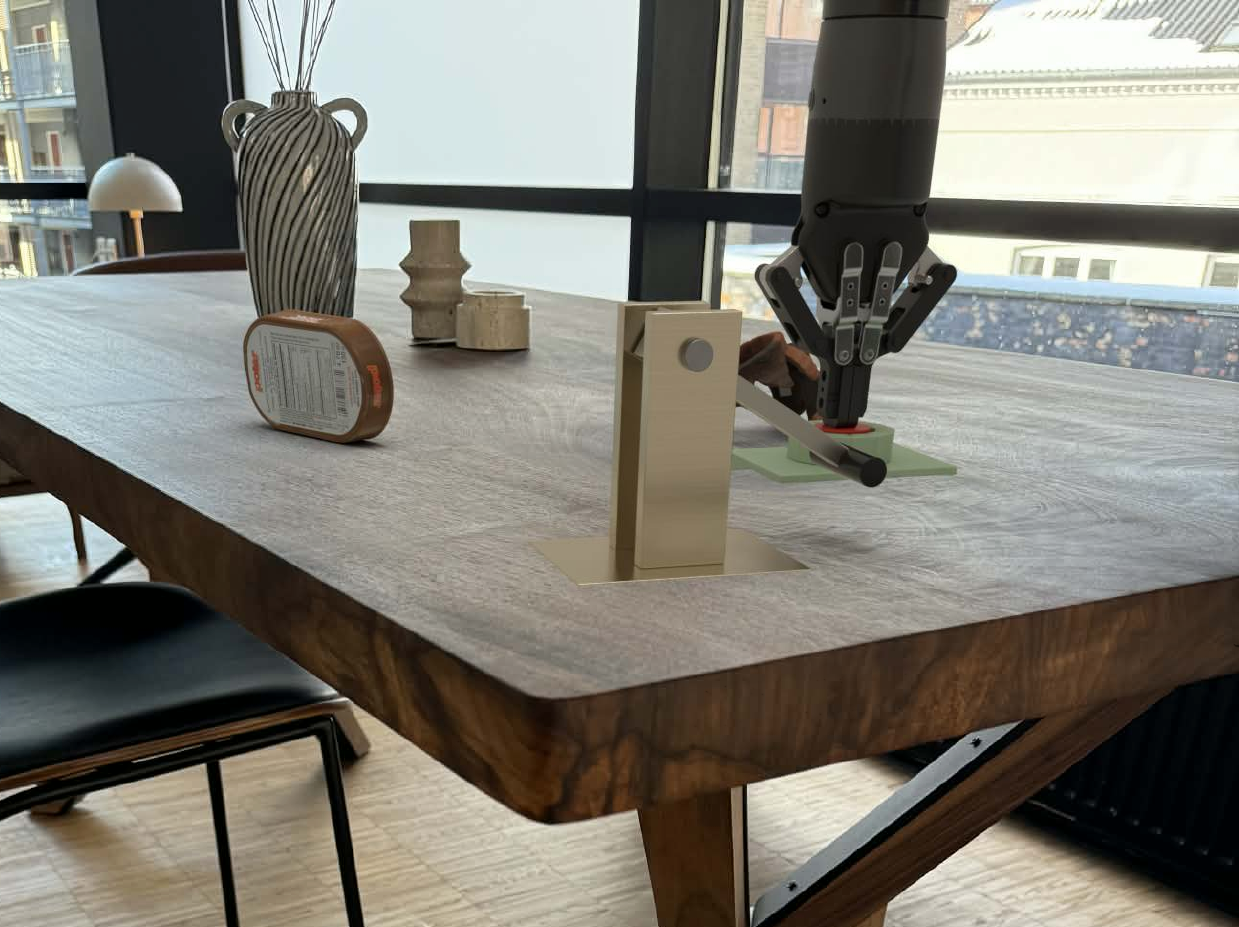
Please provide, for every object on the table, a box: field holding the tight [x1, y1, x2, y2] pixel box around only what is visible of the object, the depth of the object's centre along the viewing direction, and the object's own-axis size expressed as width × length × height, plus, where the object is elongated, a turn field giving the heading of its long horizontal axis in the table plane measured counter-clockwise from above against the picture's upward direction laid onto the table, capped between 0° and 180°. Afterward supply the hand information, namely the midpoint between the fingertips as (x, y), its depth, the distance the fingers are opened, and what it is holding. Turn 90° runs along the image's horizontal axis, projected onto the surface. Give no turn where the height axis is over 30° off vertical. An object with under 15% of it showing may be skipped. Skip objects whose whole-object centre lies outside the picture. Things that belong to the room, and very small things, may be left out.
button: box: [814, 422, 871, 434], centre depth 97 cm, size 4×4×2 cm
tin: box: [242, 308, 395, 444], centre depth 111 cm, size 15×3×8 cm, turn 44°
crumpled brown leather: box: [736, 330, 823, 421], centre depth 113 cm, size 12×10×8 cm
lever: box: [634, 307, 887, 489], centre depth 74 cm, size 13×6×2 cm
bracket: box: [527, 300, 813, 587], centre depth 74 cm, size 12×9×13 cm
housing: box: [731, 420, 958, 484], centre depth 97 cm, size 12×9×4 cm
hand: (839, 425), depth 96 cm, fingers closed
